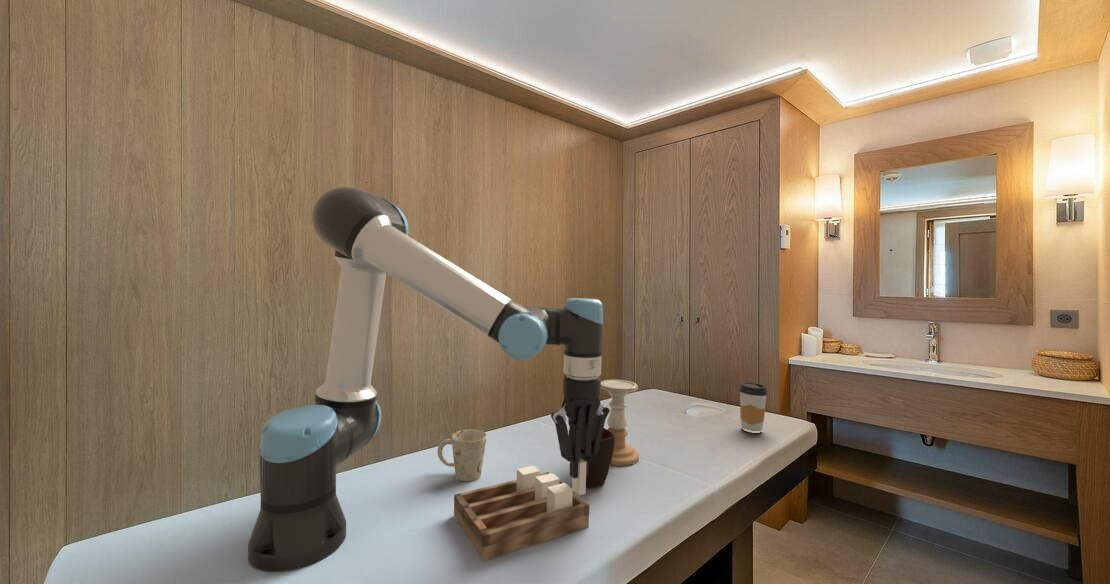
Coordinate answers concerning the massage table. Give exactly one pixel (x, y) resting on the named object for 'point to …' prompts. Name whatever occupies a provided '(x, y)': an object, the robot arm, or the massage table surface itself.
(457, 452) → the mug
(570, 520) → the wooden compartment tray
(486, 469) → the massage table surface
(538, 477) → the tab mid
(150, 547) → the massage table surface
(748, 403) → the coffee cup
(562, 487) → the tab near
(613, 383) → the candle holder
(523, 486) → the tab far
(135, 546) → the massage table surface
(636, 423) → the massage table surface
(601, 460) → the mug
